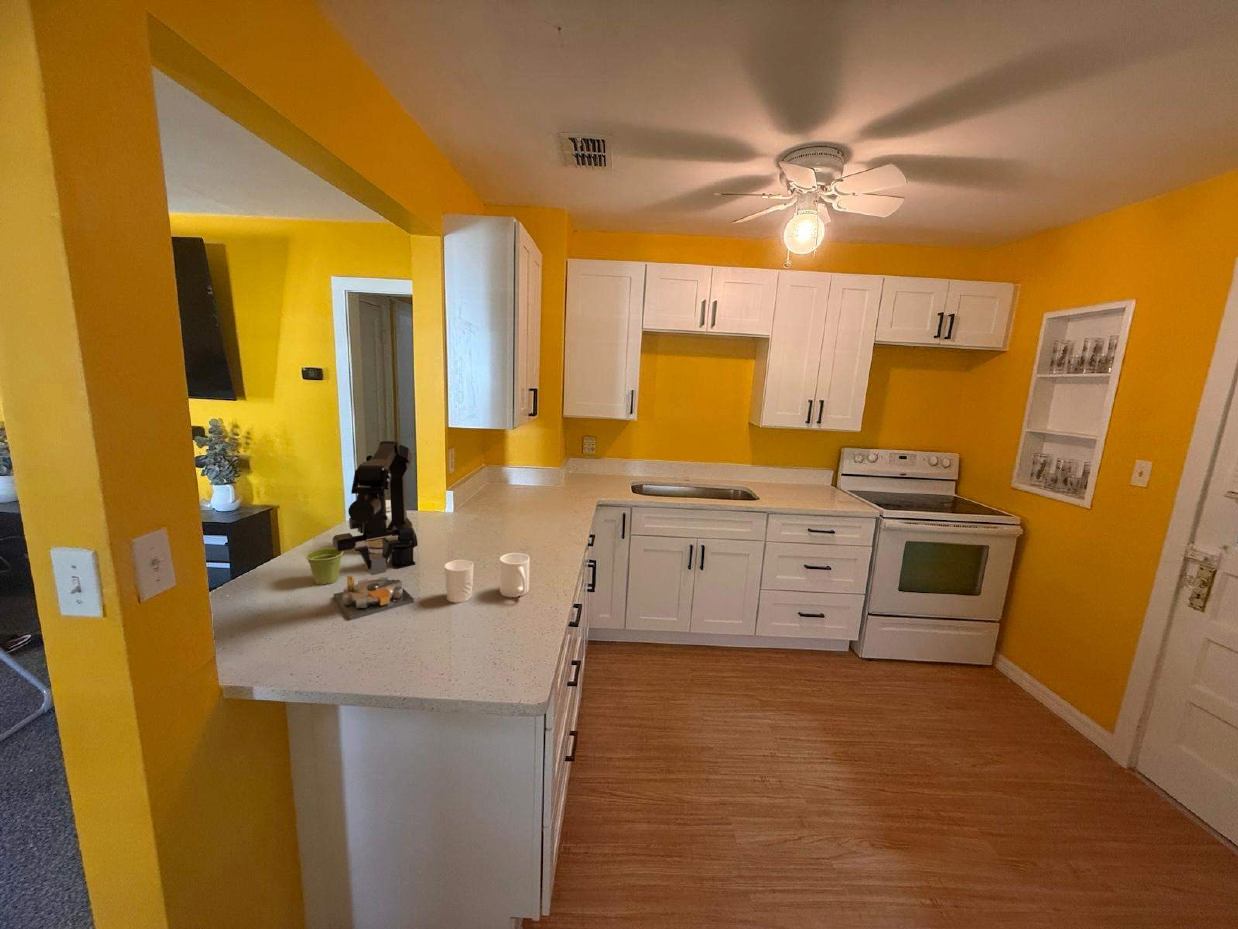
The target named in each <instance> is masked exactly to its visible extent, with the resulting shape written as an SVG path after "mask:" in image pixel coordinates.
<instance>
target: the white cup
mask: <svg viewBox="0 0 1238 929" xmlns="http://www.w3.org/2000/svg"><path fill="white" fill-rule="evenodd" d="M474 565H475V563H474V562H473V561H471V560H468V559H455V560H451V561H449V562H447V563H445V564H444V577H445V579H444V582H445V590H446V600H447V601H448V602H451V603H456V604H457V603H458V604H459V603H464V602H467V601H469V600H470V599H471V598H472V592H473V582H474Z"/></svg>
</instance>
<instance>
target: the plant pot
mask: <svg viewBox="0 0 1238 929" xmlns="http://www.w3.org/2000/svg"><path fill="white" fill-rule="evenodd" d="M343 554H344V551H337V550H336V549H335V547H332V548H331V547H329V548H321V549H316V550H314V551H313V550H312V551H311V552H309V553H307V554H306V556H305V559H306V560H307V561H308V563H309V566H310V569H311V573H312V578H313V581H314V584H316V585H321V586H322V585H325V584H333V583H335V582H337V581H338V580H339V578H340V577H339V576H340V565H341V559H342V555H343Z"/></svg>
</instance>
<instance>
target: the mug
mask: <svg viewBox="0 0 1238 929" xmlns="http://www.w3.org/2000/svg"><path fill="white" fill-rule="evenodd" d="M530 560H531V559H530V556H529V554H528V555H527V554H525V553H523V552H522V553H519V552H511V553H506V554H504V555H503V554H502V555H501V556H500V558H499V593H500V594H501V595H502V596H504V597H506V598H512V597H513V598H519V597H518V596H520V597H523V596H525V595H526V594H528V592H529V588H530Z"/></svg>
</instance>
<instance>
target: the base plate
mask: <svg viewBox="0 0 1238 929" xmlns="http://www.w3.org/2000/svg"><path fill="white" fill-rule="evenodd" d="M390 580H391V581H394V580H395V579H390ZM343 595H344V591H340V592H336V593H334V594H333V598H334V599H335V601H336V603H337V604H338V606H339V607H340V608H341V610H342V611H343V613H344V614H345V616H346V617H347V618H348V620H350V621H351V620H355V619H360V618H362V617H367V616H371V615H373V614H377V613H379V612H380V613H381V612H383V611H387V610H391V609H394V608H398V607H402V606H405V605H409V604H412V603H415V598H414V597H413V596H411V594H410V593H409V592H408V591H406V589H404V588H403V594H402V595H401V596H400V597H393V598H392V599H390V603H387V604H384V605H381V606H380V605H379V604H374V605H368V606H367V607H366V608H357V607H356V604H353V603H352V604H349V605H346V604H344V603H343Z"/></svg>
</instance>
